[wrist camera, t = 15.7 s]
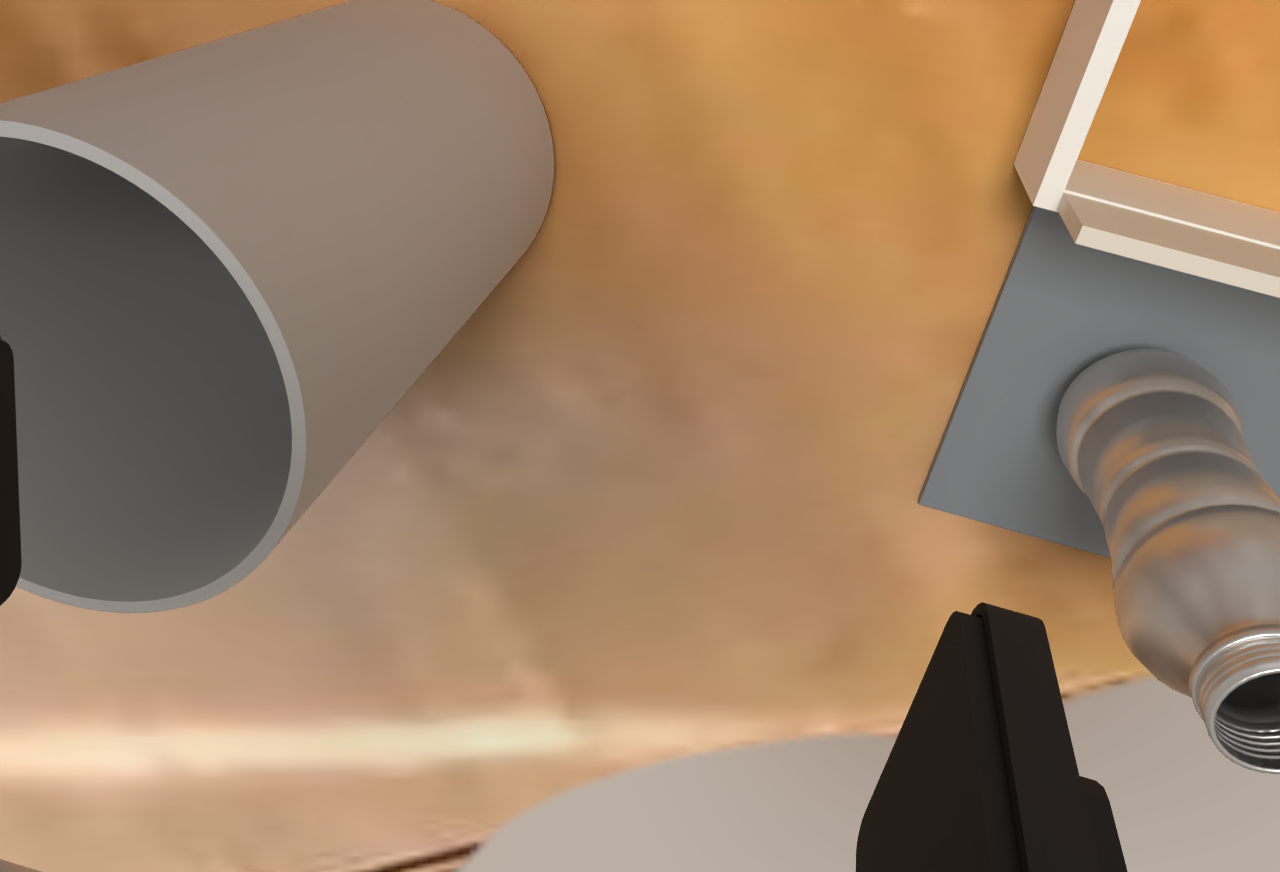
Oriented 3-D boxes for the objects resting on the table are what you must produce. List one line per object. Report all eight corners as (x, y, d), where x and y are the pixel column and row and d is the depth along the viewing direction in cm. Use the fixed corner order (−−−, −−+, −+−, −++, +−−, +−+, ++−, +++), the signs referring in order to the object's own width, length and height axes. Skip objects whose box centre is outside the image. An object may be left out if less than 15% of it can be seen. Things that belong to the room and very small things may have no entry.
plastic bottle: (1069, 320, 47) (1185, 600, 30) (1243, 344, 47) (1468, 646, 29) (1031, 460, 50) (1117, 789, 33) (1194, 485, 50) (1372, 836, 32)
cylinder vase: (391, 338, 54) (60, 678, 32) (216, 97, 50) (-296, 293, 28) (616, 202, 49) (412, 490, 27) (441, -73, 45) (41, 0, 23)
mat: (1034, 202, 46) (1036, 205, 46) (1389, 296, 45) (1394, 300, 45) (918, 498, 53) (918, 504, 52) (1226, 585, 52) (1229, 591, 52)
